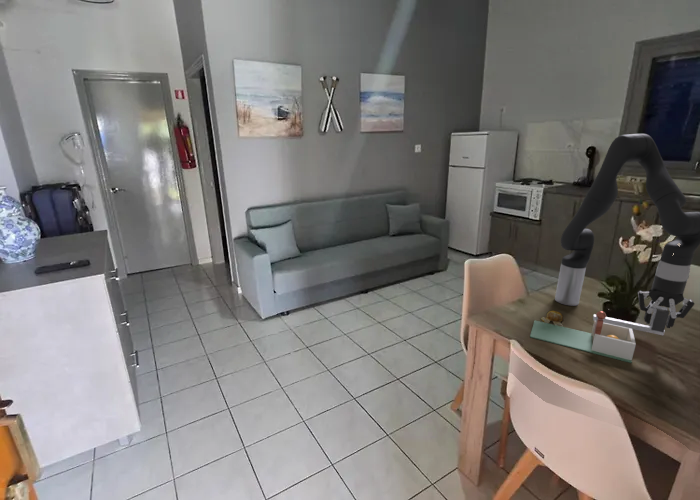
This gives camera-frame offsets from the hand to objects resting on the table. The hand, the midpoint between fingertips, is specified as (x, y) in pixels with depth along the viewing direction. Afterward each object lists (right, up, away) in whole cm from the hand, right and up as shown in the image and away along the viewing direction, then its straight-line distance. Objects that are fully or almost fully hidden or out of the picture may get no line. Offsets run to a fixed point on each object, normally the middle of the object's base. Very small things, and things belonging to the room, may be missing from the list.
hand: (657, 324), depth 116 cm
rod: (-6, -10, +7) cm, 14 cm away
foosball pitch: (-17, -8, +14) cm, 23 cm away
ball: (-9, -7, +8) cm, 14 cm away
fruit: (-19, -5, +27) cm, 34 cm away
